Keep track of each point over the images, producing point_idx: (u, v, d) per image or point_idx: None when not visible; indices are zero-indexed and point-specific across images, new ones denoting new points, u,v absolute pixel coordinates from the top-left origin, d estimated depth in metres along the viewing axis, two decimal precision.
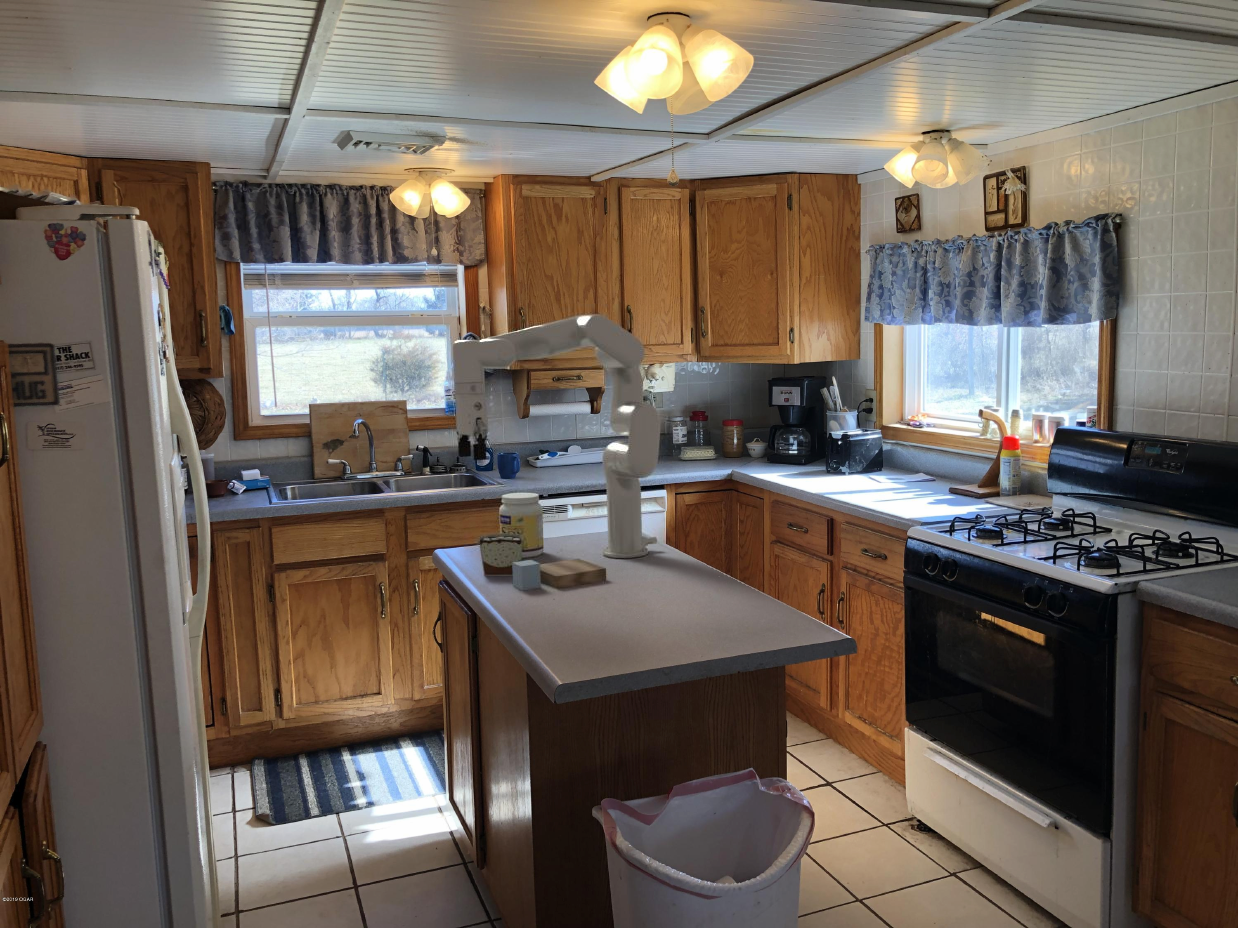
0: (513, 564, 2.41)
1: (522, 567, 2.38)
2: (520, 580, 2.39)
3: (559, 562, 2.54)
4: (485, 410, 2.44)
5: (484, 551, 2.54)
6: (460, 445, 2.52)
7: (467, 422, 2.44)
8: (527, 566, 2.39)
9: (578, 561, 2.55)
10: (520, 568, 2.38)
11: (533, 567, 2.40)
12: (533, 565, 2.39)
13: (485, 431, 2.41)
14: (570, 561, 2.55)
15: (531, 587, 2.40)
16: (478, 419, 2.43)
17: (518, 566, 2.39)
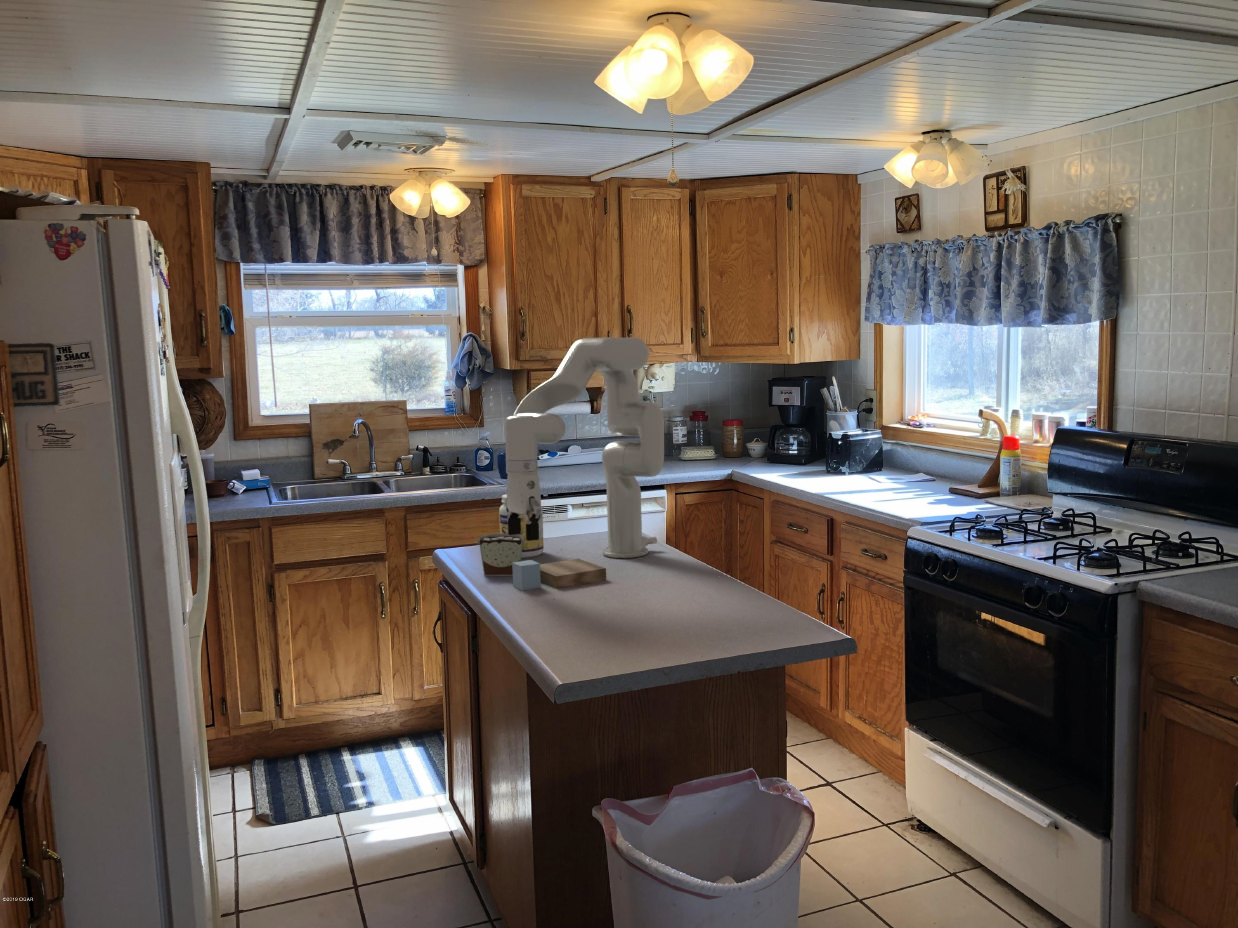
0: (513, 564, 2.41)
1: (522, 567, 2.38)
2: (520, 580, 2.39)
3: (559, 562, 2.54)
4: (538, 488, 2.36)
5: (484, 551, 2.54)
6: (510, 523, 2.43)
7: (520, 501, 2.35)
8: (527, 566, 2.39)
9: (578, 561, 2.55)
10: (520, 568, 2.38)
11: (533, 567, 2.40)
12: (533, 565, 2.39)
13: (539, 511, 2.32)
14: (570, 561, 2.55)
15: (531, 587, 2.40)
16: (531, 498, 2.34)
17: (518, 566, 2.39)
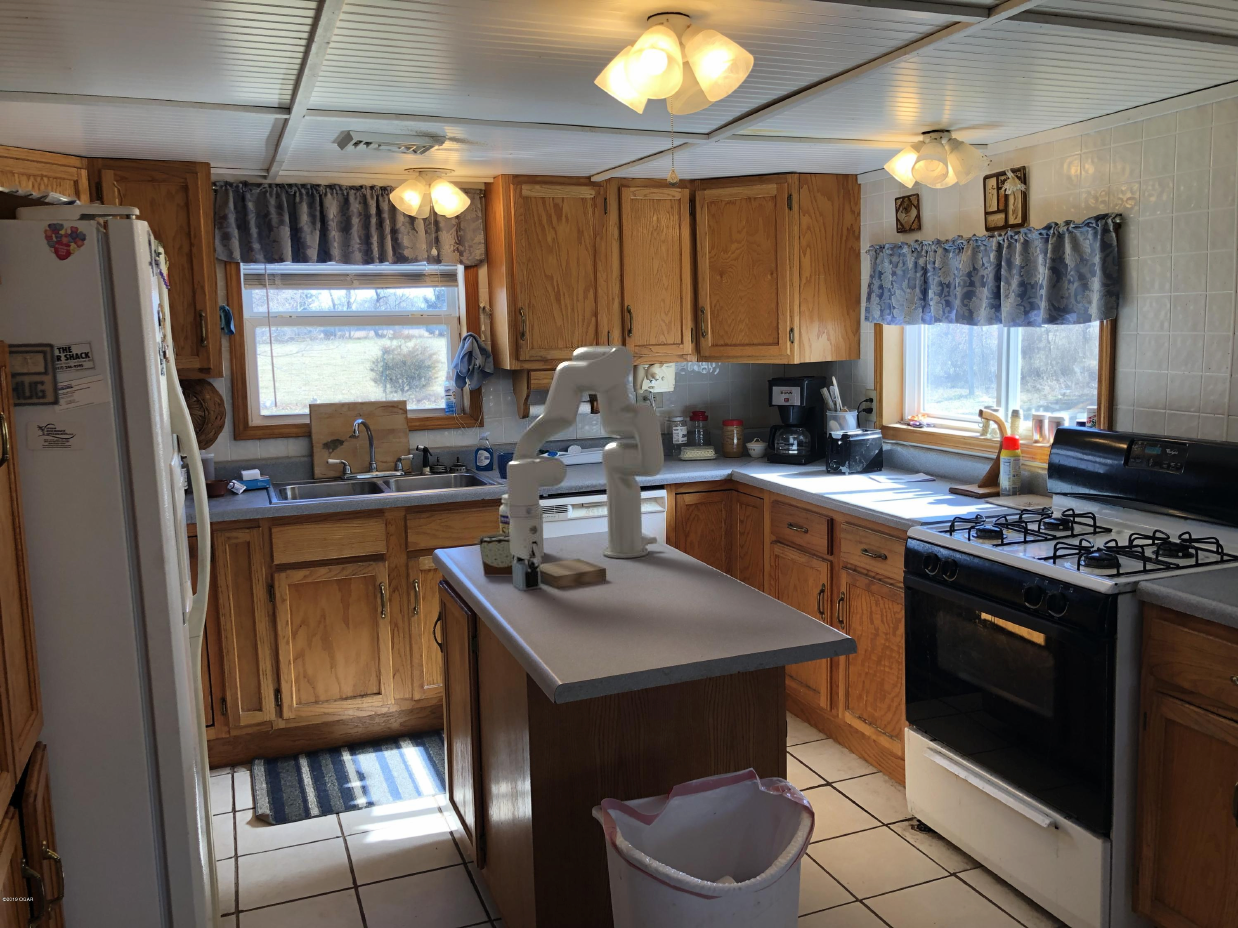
0: (513, 564, 2.41)
1: (522, 567, 2.38)
2: (520, 580, 2.39)
3: (559, 562, 2.54)
4: (541, 533, 2.37)
5: (484, 551, 2.54)
6: None
7: (522, 546, 2.37)
8: None
9: (578, 561, 2.55)
10: (520, 568, 2.38)
11: None
12: None
13: (539, 562, 2.35)
14: (570, 561, 2.55)
15: None
16: (533, 546, 2.36)
17: (518, 566, 2.39)
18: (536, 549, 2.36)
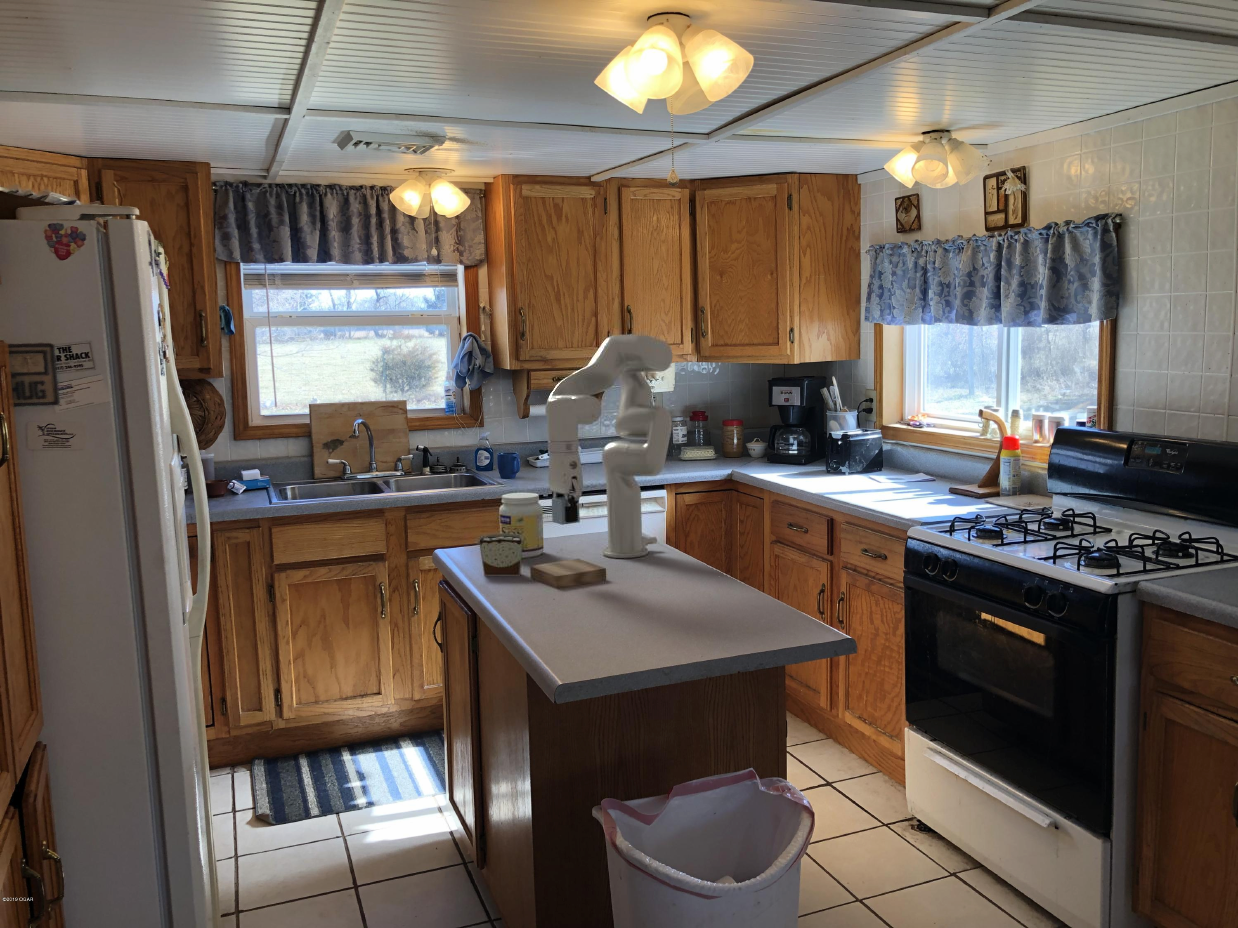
0: (552, 499, 2.47)
1: (562, 501, 2.43)
2: (560, 514, 2.44)
3: (559, 562, 2.54)
4: (580, 468, 2.42)
5: (484, 551, 2.54)
6: None
7: (562, 481, 2.42)
8: None
9: (578, 561, 2.55)
10: (560, 503, 2.44)
11: None
12: None
13: (579, 497, 2.41)
14: (570, 561, 2.55)
15: None
16: (573, 481, 2.41)
17: (558, 501, 2.44)
18: (576, 484, 2.41)
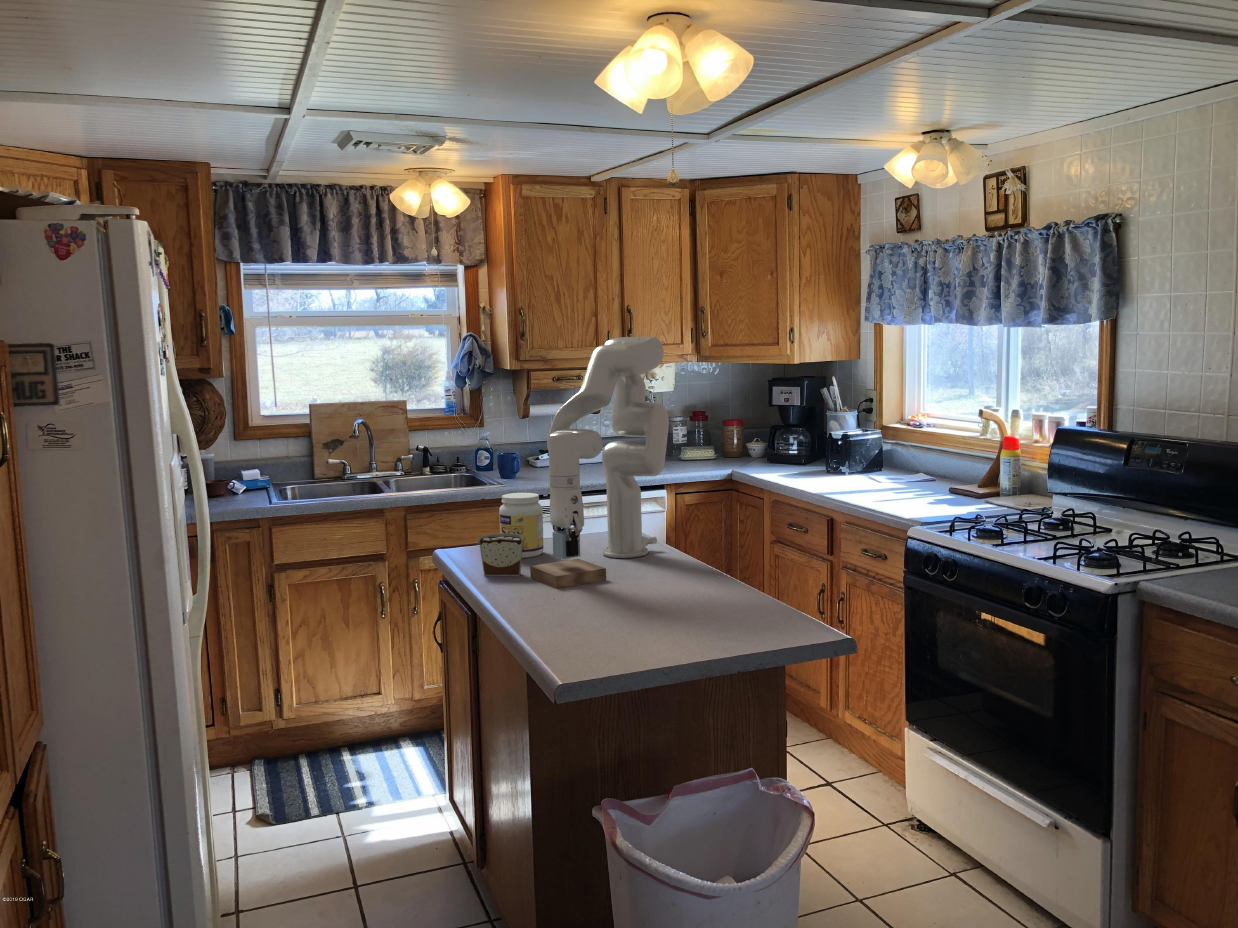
0: (553, 533, 2.48)
1: (563, 536, 2.44)
2: (561, 549, 2.45)
3: (559, 562, 2.54)
4: (581, 503, 2.43)
5: (484, 551, 2.54)
6: None
7: (563, 515, 2.43)
8: None
9: (578, 561, 2.55)
10: (561, 537, 2.44)
11: None
12: None
13: (580, 531, 2.42)
14: (570, 561, 2.55)
15: (571, 556, 2.46)
16: (574, 515, 2.42)
17: (559, 535, 2.45)
18: (577, 518, 2.42)
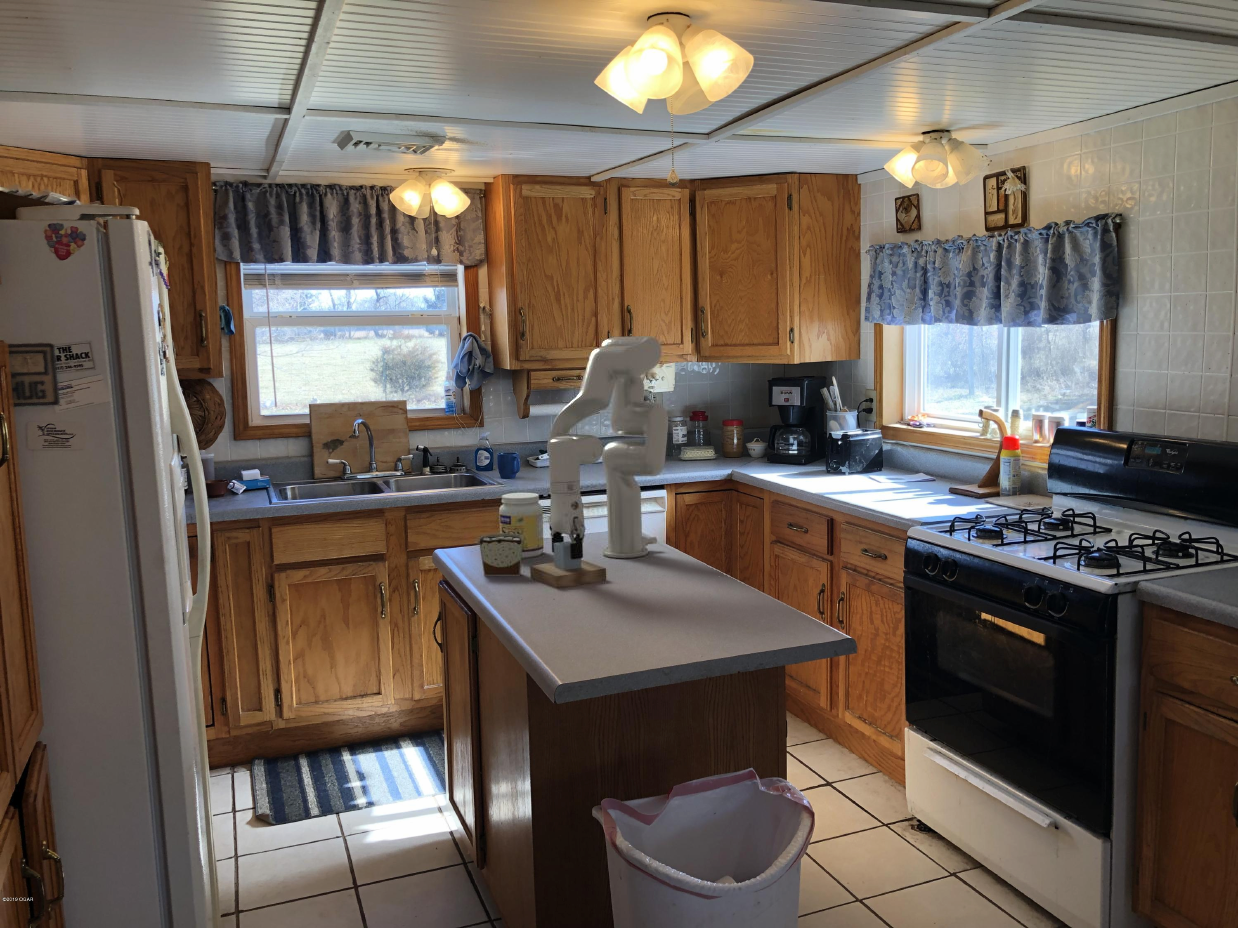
0: (554, 545, 2.48)
1: (564, 547, 2.45)
2: (562, 560, 2.46)
3: None
4: (582, 509, 2.44)
5: (484, 551, 2.54)
6: (554, 541, 2.51)
7: (564, 521, 2.43)
8: (568, 546, 2.45)
9: None
10: (562, 548, 2.45)
11: None
12: None
13: (583, 531, 2.40)
14: None
15: (572, 567, 2.46)
16: (575, 518, 2.42)
17: (560, 546, 2.46)
18: (578, 520, 2.42)
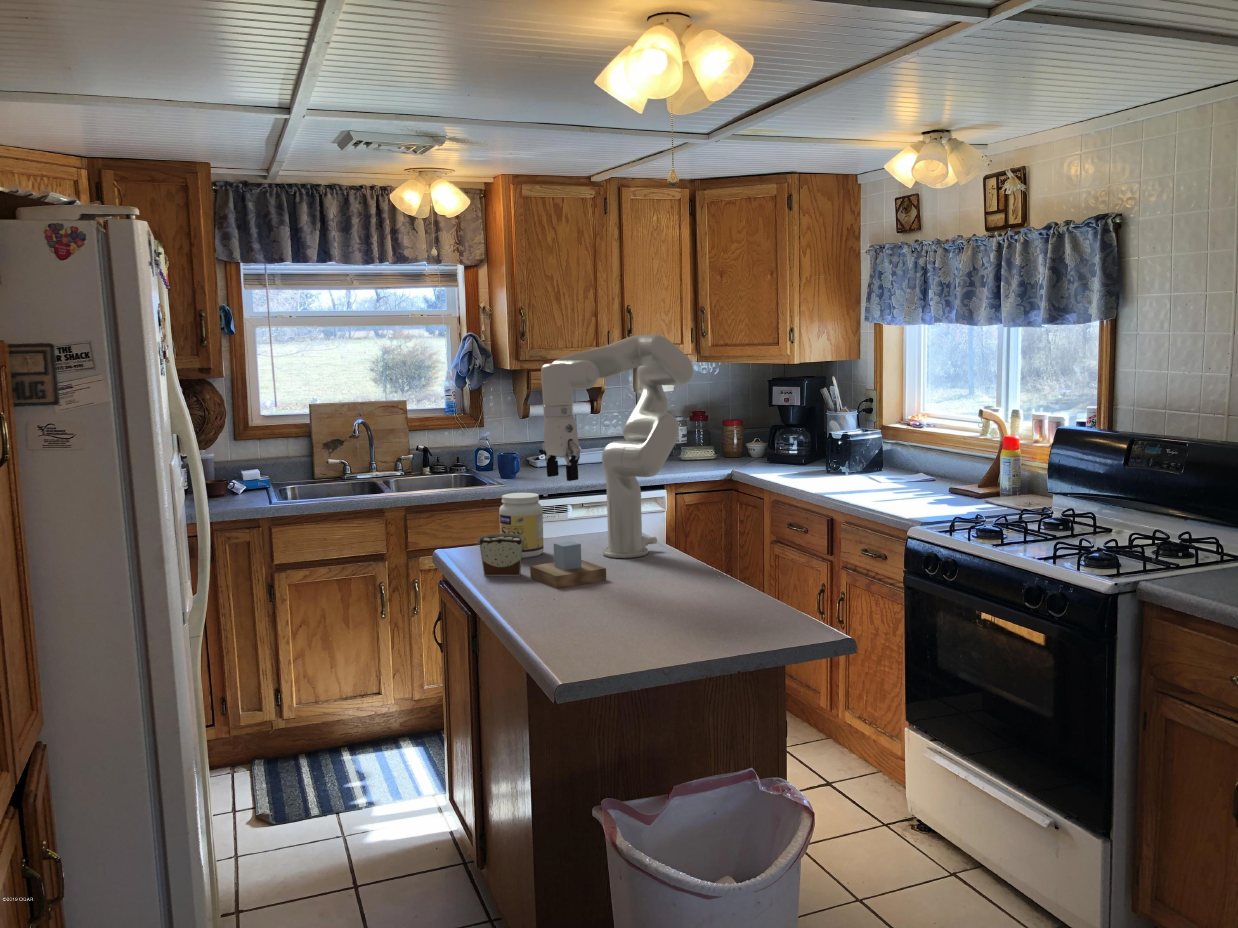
0: (554, 545, 2.48)
1: (564, 547, 2.45)
2: (562, 560, 2.46)
3: None
4: (576, 431, 2.50)
5: (484, 551, 2.54)
6: (548, 465, 2.57)
7: (559, 444, 2.49)
8: (568, 546, 2.45)
9: None
10: (562, 548, 2.45)
11: (574, 548, 2.46)
12: (574, 545, 2.46)
13: (578, 453, 2.47)
14: None
15: (572, 567, 2.46)
16: (570, 441, 2.49)
17: (560, 546, 2.46)
18: (573, 443, 2.48)
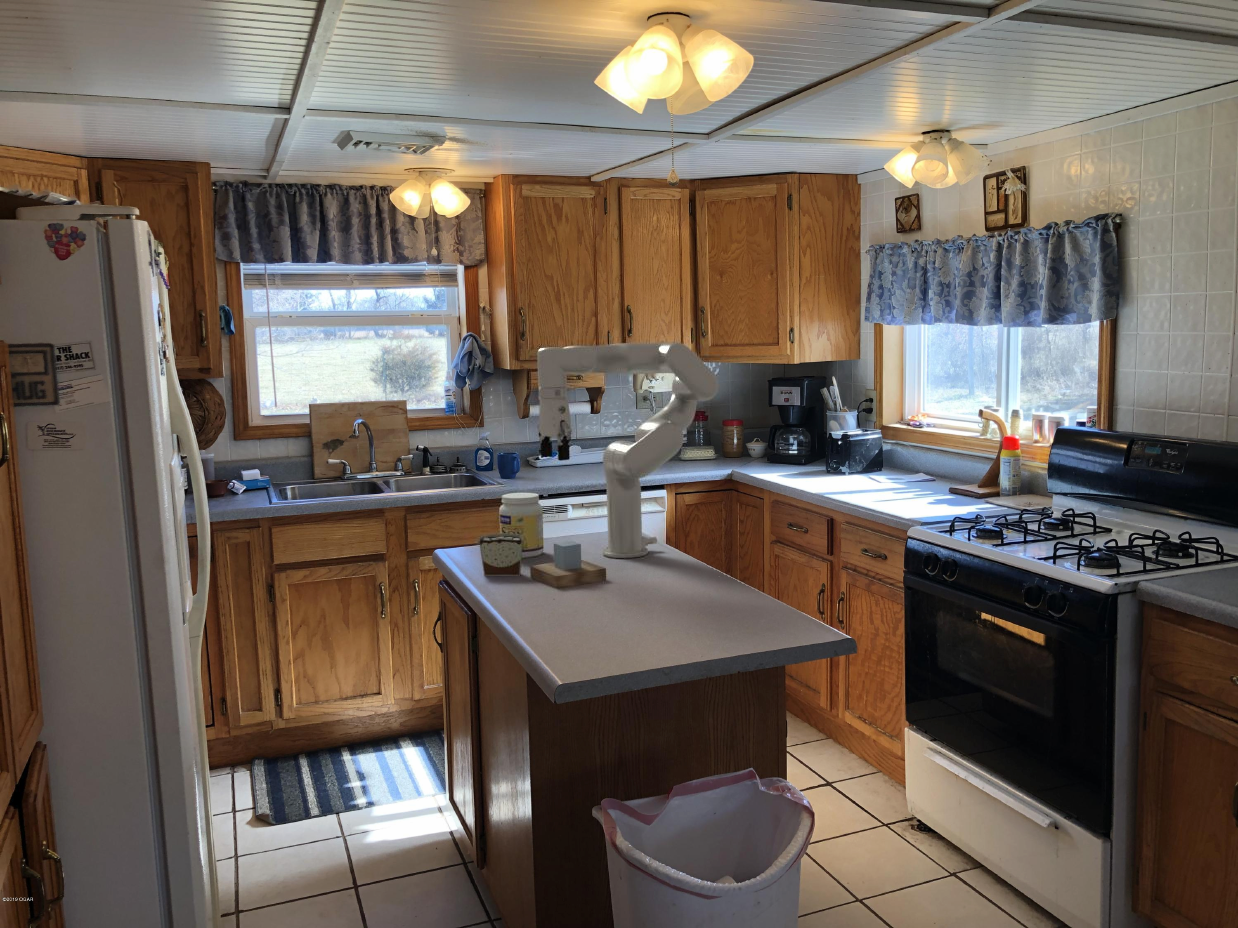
0: (554, 545, 2.48)
1: (564, 547, 2.45)
2: (562, 560, 2.46)
3: None
4: (568, 413, 2.60)
5: (484, 551, 2.54)
6: (542, 446, 2.67)
7: (552, 424, 2.59)
8: (568, 546, 2.45)
9: None
10: (562, 548, 2.45)
11: (574, 548, 2.46)
12: (574, 545, 2.46)
13: (570, 433, 2.57)
14: None
15: (572, 567, 2.46)
16: (562, 422, 2.59)
17: (560, 546, 2.46)
18: (565, 423, 2.58)
